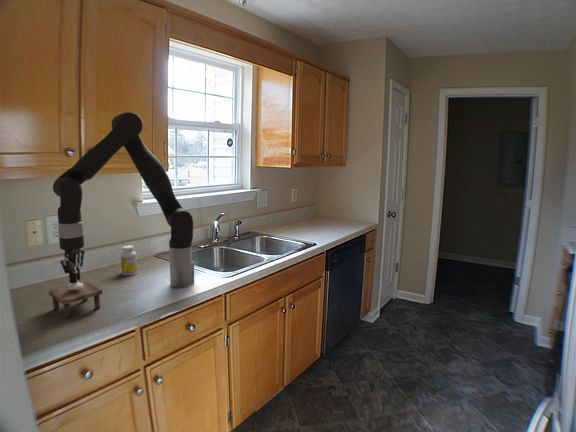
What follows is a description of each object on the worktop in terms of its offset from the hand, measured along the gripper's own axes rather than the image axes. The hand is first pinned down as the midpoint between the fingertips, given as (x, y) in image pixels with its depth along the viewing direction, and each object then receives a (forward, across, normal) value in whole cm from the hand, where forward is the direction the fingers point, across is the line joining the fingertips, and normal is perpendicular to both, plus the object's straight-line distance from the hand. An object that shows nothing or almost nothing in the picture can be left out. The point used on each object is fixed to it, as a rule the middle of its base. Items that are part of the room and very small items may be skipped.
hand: (75, 281), depth 134 cm
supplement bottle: (+11, -38, +7) cm, 40 cm away
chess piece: (+2, 0, 0) cm, 2 cm away
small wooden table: (+10, 0, 0) cm, 10 cm away
